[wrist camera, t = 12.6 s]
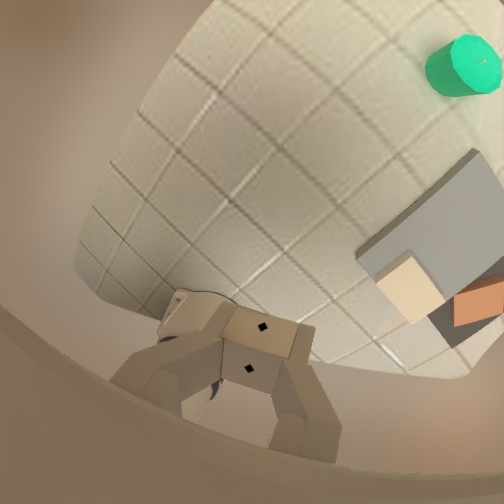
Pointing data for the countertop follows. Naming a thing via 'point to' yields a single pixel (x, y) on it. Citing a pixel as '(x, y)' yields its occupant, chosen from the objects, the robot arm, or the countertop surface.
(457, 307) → the terracotta tile
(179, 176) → the countertop surface
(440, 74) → the candle
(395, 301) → the cream tile
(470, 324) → the mat
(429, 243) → the platform
